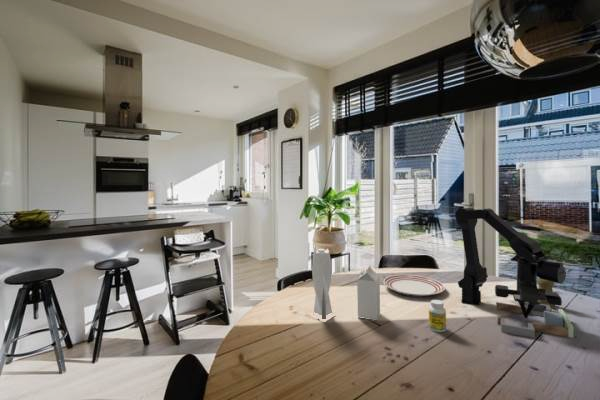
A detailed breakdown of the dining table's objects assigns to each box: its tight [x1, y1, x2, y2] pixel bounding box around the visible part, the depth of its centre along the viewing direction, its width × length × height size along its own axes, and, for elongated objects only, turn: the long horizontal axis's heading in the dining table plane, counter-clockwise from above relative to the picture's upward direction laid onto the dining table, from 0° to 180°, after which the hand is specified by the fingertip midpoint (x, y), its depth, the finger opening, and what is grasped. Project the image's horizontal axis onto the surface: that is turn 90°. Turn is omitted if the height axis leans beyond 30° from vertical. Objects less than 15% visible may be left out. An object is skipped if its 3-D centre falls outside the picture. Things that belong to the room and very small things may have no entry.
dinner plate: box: [382, 274, 446, 297], centre depth 144 cm, size 27×27×3 cm
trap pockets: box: [500, 302, 554, 339], centre depth 109 cm, size 16×27×2 cm, turn 149°
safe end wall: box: [558, 308, 575, 339], centre depth 103 cm, size 1×15×4 cm, turn 149°
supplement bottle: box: [428, 299, 447, 333], centre depth 105 cm, size 5×5×10 cm
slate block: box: [543, 311, 563, 327], centre depth 105 cm, size 4×4×4 cm
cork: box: [537, 277, 556, 309], centre depth 122 cm, size 6×6×11 cm
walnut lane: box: [495, 301, 569, 338], centre depth 109 cm, size 19×15×2 cm
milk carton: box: [356, 265, 381, 321], centre depth 116 cm, size 7×7×19 cm
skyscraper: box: [311, 244, 333, 319], centre depth 117 cm, size 8×8×28 cm
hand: (525, 317), depth 109 cm, fingers closed
